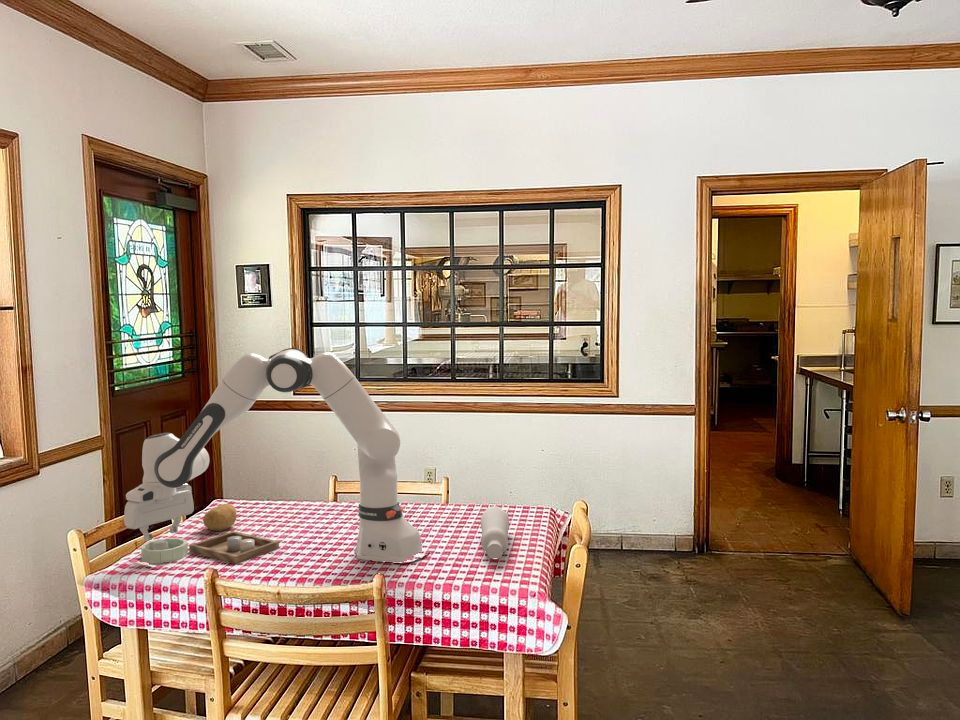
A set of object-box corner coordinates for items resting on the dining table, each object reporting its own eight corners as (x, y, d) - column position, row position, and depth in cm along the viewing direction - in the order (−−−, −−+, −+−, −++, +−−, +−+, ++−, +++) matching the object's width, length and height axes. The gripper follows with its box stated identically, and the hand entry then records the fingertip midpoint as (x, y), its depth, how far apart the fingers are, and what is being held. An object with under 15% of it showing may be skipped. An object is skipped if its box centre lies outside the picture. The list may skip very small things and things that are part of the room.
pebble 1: (171, 553, 205) (170, 541, 205) (158, 557, 202) (158, 545, 201) (163, 551, 207) (162, 539, 207) (150, 555, 204) (149, 543, 203)
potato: (244, 523, 238) (243, 500, 238) (226, 536, 224) (226, 511, 224) (216, 523, 239) (215, 500, 238) (196, 535, 225) (196, 511, 224)
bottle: (475, 522, 229) (472, 555, 199) (491, 499, 228) (490, 529, 198) (498, 537, 229) (499, 573, 199) (514, 514, 228) (517, 547, 198)
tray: (279, 549, 211) (278, 541, 211) (235, 565, 197) (235, 556, 197) (233, 539, 221) (233, 531, 221) (189, 553, 207) (189, 545, 207)
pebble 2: (244, 549, 210) (244, 537, 209) (233, 552, 206) (233, 540, 206) (235, 546, 212) (235, 535, 212) (224, 550, 208) (224, 538, 208)
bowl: (196, 555, 206) (195, 542, 206) (159, 567, 195) (158, 553, 195) (170, 548, 212) (169, 535, 212) (132, 560, 202) (132, 546, 201)
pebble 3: (257, 552, 207) (257, 540, 207) (246, 556, 203) (246, 543, 203) (248, 550, 209) (247, 538, 209) (237, 553, 205) (237, 541, 205)
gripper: (184, 480, 214) (185, 525, 215) (120, 495, 196) (121, 544, 197) (197, 483, 211) (198, 528, 211) (133, 498, 193) (135, 547, 194)
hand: (161, 536), depth 204 cm, fingers open, 7 cm apart
